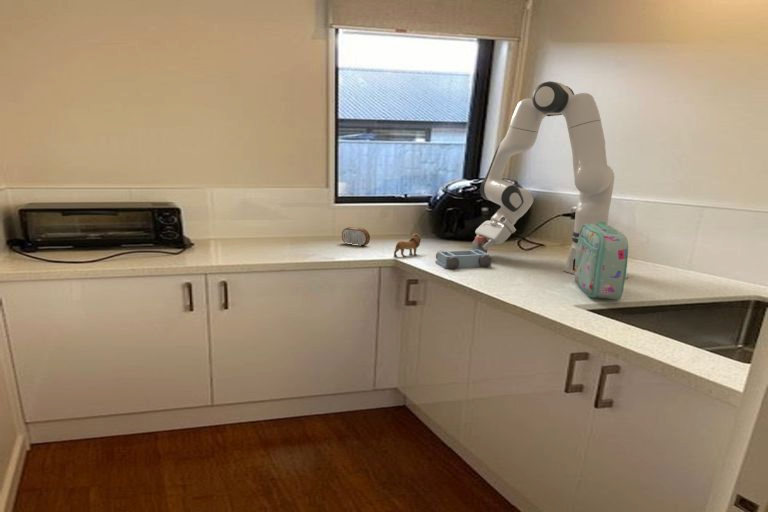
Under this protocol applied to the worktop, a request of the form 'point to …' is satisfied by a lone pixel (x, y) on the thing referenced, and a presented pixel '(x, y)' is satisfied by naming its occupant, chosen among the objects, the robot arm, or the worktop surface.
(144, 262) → the worktop surface
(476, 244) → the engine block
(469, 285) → the worktop surface
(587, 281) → the lunch box
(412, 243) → the lion figurine
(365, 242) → the wooden speaker
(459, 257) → the chassis
